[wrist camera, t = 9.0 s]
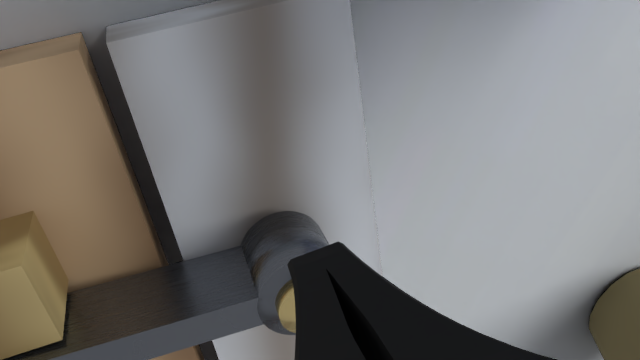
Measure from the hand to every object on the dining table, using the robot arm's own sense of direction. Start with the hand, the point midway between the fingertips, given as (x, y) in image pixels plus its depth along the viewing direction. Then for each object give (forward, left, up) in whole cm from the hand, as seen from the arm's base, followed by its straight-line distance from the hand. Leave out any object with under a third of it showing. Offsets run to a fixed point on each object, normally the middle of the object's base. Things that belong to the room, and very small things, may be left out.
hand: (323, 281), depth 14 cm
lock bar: (+5, +4, -7) cm, 9 cm away
